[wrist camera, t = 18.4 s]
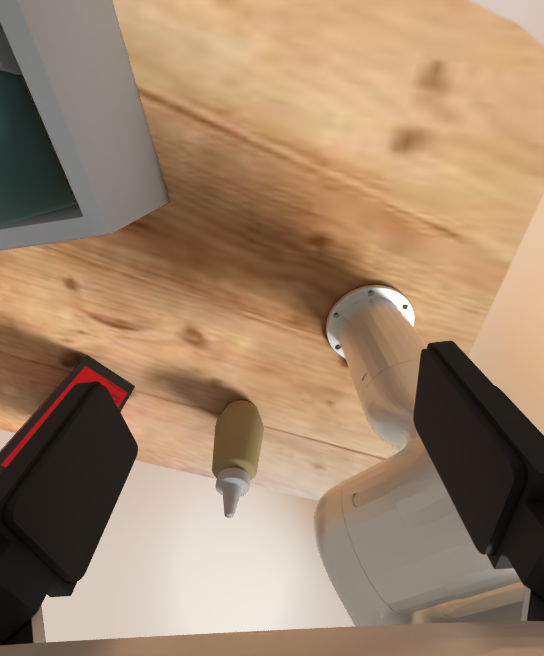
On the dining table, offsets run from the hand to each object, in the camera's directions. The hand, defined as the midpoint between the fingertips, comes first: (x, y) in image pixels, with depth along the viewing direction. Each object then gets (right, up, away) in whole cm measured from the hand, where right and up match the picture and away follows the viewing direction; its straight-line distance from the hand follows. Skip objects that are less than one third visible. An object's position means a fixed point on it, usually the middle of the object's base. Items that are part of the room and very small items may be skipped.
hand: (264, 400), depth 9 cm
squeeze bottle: (-5, -13, +46) cm, 48 cm away
